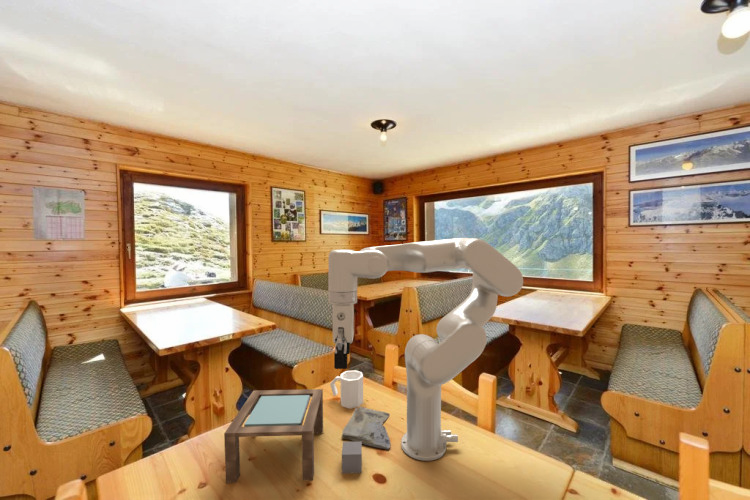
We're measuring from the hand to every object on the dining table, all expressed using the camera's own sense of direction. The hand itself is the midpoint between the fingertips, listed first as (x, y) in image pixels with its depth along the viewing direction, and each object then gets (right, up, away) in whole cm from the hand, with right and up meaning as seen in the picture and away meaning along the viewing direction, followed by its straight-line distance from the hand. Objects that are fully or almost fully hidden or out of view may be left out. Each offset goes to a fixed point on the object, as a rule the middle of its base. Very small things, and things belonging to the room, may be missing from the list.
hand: (342, 360), depth 86 cm
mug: (-2, -25, +30) cm, 39 cm away
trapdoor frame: (-18, -27, +4) cm, 32 cm away
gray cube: (+3, -27, -2) cm, 27 cm away
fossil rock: (+7, -27, +15) cm, 31 cm away
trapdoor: (-17, -15, +3) cm, 23 cm away
